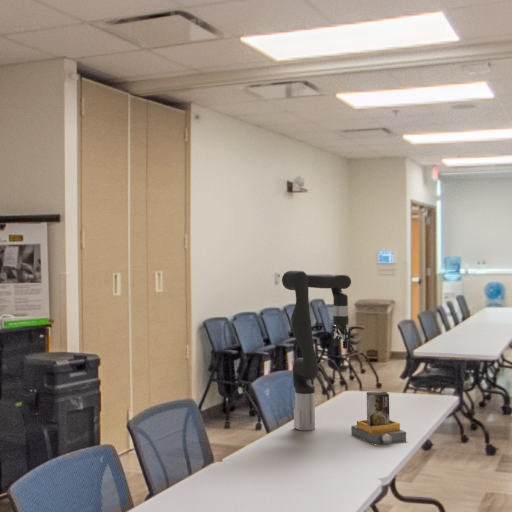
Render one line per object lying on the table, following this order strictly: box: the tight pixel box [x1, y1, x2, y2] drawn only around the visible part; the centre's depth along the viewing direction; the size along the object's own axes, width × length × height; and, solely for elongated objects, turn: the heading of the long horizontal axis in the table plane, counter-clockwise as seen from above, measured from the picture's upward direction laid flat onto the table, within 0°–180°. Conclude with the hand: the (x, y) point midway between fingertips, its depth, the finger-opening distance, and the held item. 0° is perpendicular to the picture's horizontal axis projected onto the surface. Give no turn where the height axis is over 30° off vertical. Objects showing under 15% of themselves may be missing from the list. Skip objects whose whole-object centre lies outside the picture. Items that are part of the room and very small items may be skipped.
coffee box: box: [366, 391, 391, 426], centre depth 332 cm, size 9×6×16 cm
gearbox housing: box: [350, 419, 407, 445], centre depth 331 cm, size 16×22×7 cm
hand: (340, 347), depth 367 cm, fingers open, 8 cm apart
